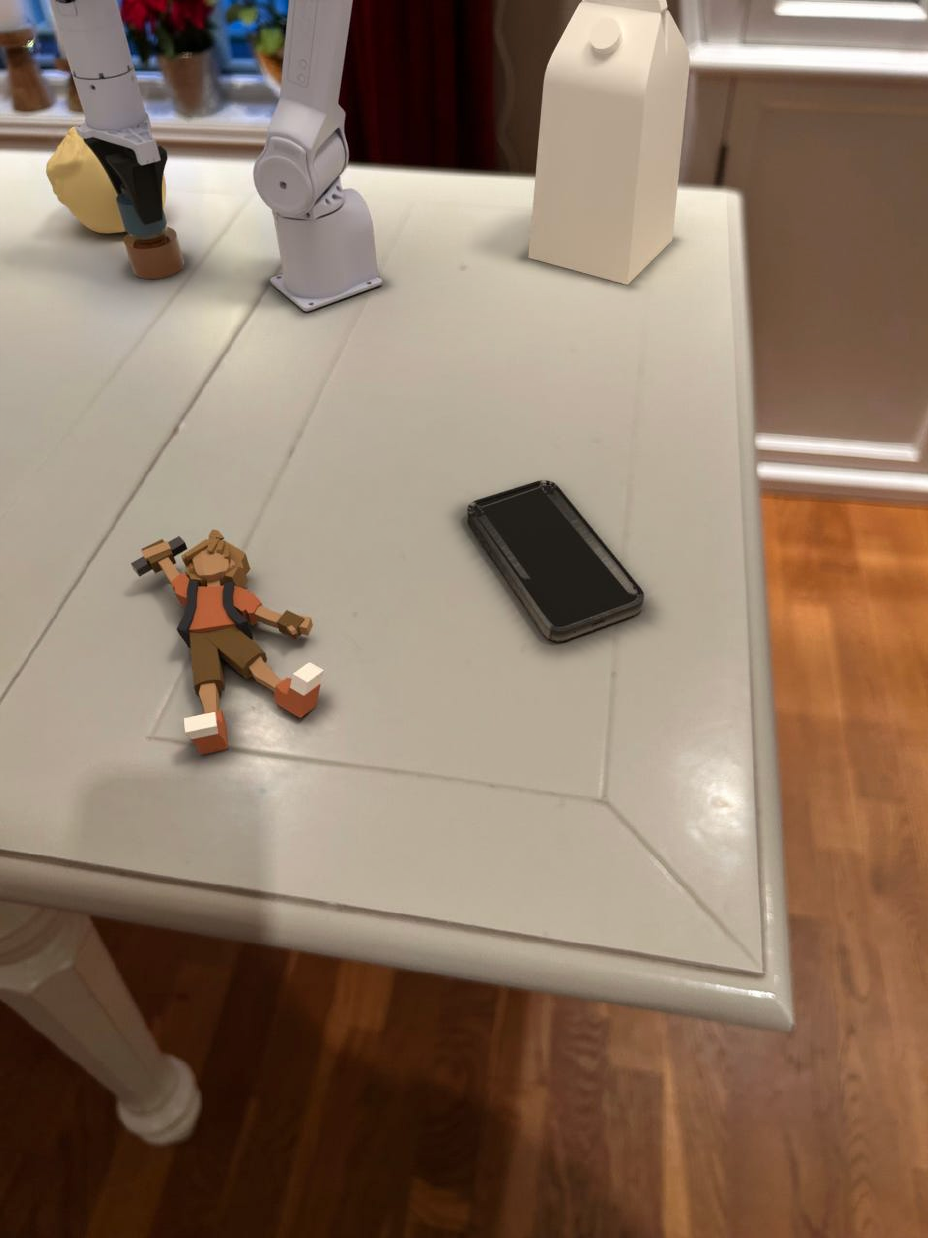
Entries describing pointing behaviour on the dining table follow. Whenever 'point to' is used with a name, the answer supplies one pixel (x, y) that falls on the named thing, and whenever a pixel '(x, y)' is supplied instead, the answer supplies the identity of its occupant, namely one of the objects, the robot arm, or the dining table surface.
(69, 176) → the sculpture
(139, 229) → the slate bottle
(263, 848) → the dining table surface
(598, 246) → the milk
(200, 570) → the character figurine
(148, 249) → the brown cup
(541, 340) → the dining table surface
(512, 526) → the phone
